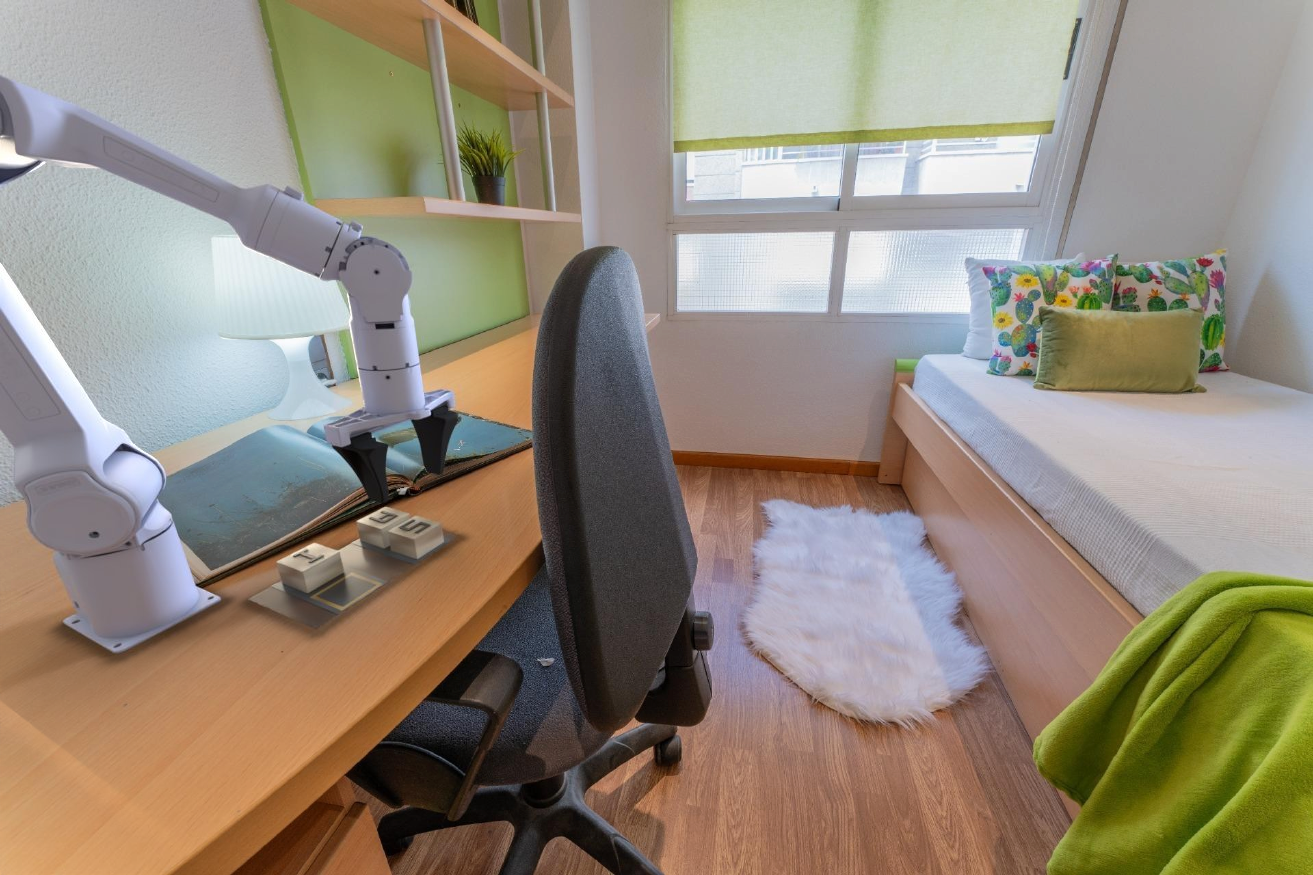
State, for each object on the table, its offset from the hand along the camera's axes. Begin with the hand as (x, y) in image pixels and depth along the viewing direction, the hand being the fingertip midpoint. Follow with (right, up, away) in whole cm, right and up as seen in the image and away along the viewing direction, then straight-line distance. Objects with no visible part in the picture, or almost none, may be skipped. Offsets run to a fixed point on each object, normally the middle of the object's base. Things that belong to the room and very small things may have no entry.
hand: (408, 485), depth 57 cm
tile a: (-5, -7, +5) cm, 9 cm away
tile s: (0, -7, +3) cm, 8 cm away
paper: (-6, -1, +22) cm, 23 cm away
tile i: (-8, -9, -3) cm, 13 cm away
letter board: (-4, -9, 0) cm, 10 cm away
